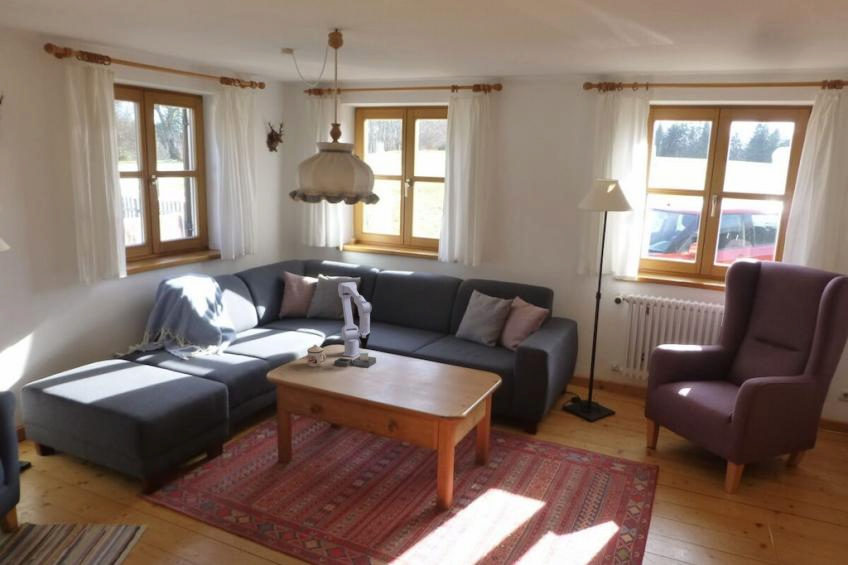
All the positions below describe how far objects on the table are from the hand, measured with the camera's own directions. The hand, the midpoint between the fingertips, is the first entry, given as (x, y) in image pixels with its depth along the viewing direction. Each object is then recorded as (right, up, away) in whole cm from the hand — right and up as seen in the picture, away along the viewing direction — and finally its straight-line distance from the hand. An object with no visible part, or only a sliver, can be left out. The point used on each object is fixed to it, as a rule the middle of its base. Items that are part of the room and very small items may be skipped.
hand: (364, 346), depth 354 cm
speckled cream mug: (-27, -11, -2) cm, 29 cm away
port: (0, -10, +2) cm, 10 cm away
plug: (0, -10, +2) cm, 10 cm away
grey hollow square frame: (-12, -10, 0) cm, 16 cm away
